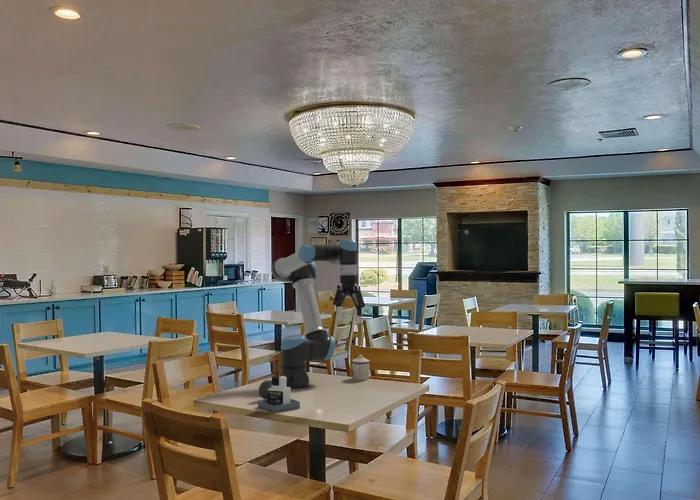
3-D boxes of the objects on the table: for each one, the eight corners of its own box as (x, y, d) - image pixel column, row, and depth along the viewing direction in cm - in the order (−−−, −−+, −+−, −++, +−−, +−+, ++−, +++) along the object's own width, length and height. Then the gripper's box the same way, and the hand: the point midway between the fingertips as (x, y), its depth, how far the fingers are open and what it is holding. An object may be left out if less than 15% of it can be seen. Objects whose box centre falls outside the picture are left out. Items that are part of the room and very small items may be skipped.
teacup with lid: (354, 376, 310) (354, 353, 310) (371, 377, 307) (371, 354, 308) (347, 381, 298) (347, 357, 299) (365, 382, 296) (365, 358, 296)
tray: (258, 406, 246) (258, 400, 246) (283, 402, 254) (283, 396, 254) (273, 412, 237) (273, 406, 237) (299, 408, 244) (299, 401, 244)
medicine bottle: (266, 407, 243) (266, 377, 243) (275, 403, 250) (275, 374, 250) (283, 408, 241) (283, 378, 241) (290, 404, 247) (290, 375, 248)
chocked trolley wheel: (258, 400, 258) (258, 381, 258) (280, 396, 265) (280, 378, 265) (262, 401, 256) (262, 382, 256) (284, 397, 262) (284, 379, 262)
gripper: (325, 274, 279) (325, 320, 279) (359, 275, 259) (359, 324, 259) (338, 273, 284) (338, 319, 283) (372, 274, 264) (373, 323, 264)
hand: (348, 322), depth 271 cm, fingers open, 13 cm apart
